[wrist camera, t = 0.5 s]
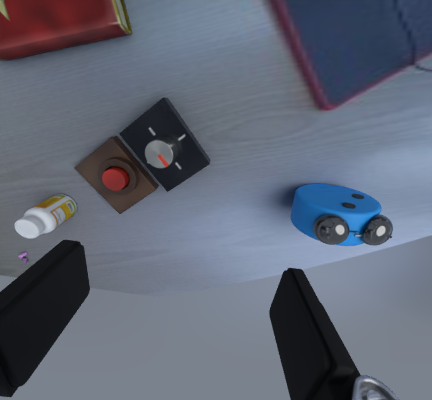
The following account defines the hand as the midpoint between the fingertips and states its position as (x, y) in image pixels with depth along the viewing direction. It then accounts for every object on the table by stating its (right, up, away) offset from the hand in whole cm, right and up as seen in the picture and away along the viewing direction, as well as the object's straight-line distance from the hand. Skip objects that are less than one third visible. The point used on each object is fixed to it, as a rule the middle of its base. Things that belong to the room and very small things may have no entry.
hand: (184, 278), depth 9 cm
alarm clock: (+22, +5, +33) cm, 40 cm away
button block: (-18, +9, +31) cm, 37 cm away
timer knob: (-7, +13, +26) cm, 30 cm away
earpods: (-46, -10, +41) cm, 62 cm away
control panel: (-7, +14, +29) cm, 33 cm away
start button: (-17, +8, +28) cm, 33 cm away
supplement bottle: (-31, +3, +34) cm, 47 cm away
